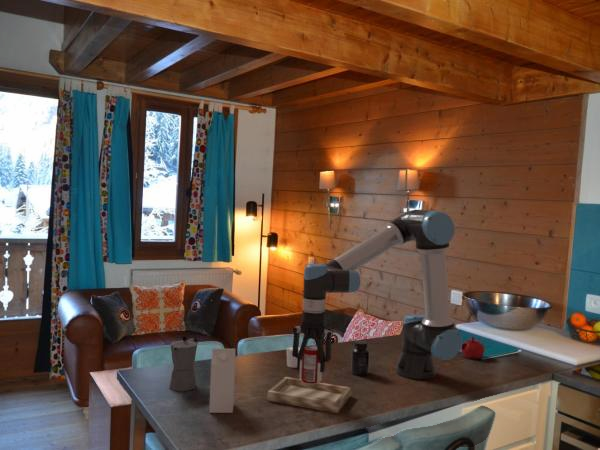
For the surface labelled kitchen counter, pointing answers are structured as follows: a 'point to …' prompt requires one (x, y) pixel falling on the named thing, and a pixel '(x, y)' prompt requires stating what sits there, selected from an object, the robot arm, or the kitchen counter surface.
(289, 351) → the white cylinder
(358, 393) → the kitchen counter surface
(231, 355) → the milk carton
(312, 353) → the soda can
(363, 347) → the supplement bottle
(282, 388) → the tray
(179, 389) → the coffeepot
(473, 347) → the pomegranate
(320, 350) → the robot arm
